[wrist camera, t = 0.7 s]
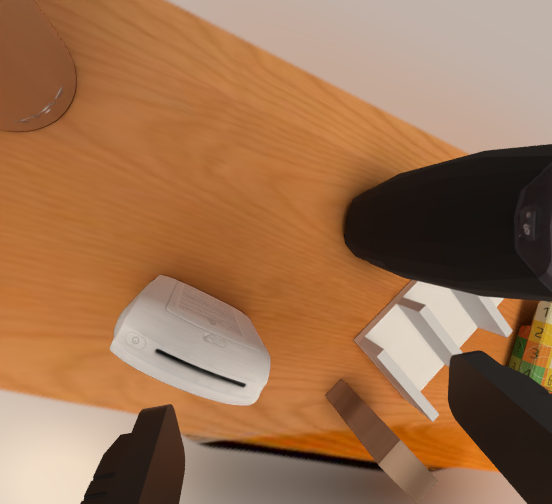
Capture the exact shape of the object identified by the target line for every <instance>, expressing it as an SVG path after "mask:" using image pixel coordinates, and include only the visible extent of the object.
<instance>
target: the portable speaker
mask: <svg viewBox="0 0 552 504" xmlns="http://www.w3.org/2000/svg"><path fill="white" fill-rule="evenodd" d="M344 237H345V244H346V245H347V246H348V247H349V249H350V250H351V251H352V252H353V254H354V255H355V256H357V257H359V258H361V259H364V260H366V261H368V262H369V263H370V264H373V265H375V266H377V267H380V268H382V269H385V270H387V271H389V272H392V273H394V274H396V275H399V276H401V277H403V278H407V279H411V280H415V281H420V282H424V283H428V284H432V285H436V286H441V287H445V288H449V289H453V290H457V291H461V292H466V293H470V294H474V295H478V296H482V297H496V298H510V299H524V300H538V301H552V144H549V145H539V146H529V147H518V148H508V149H499V150H489V151H483V152H479V153H475V154H471V155H467V156H464V157H460V158H456V159H453V160H449V161H445V162H441V163H438V164H434V165H430V166H427V167H423V168H419V169H415V170H412V171H408V172H404V173H401V174H398V175H396V176H394V177H392V178H391V179H389V180H387V181H385V182H383V183H381V184H379V185H378V186H376V187H374V188H372V189H369V190H367V191H366V192H364V193H362V194H361V195H359V196H357V197H356V198H354V199H353V202H352V205H351V208H350V211H349V214H348V218H347V221H346V232H345V235H344Z"/></svg>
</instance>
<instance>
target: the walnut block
mask: <svg viewBox="0 0 552 504" xmlns="http://www.w3.org/2000/svg"><path fill="white" fill-rule="evenodd" d="M325 396H326V397H327V399H328V400H329V401H330V403H331V404H332V405H333V406H334V408H335V409H336V410H337V412H338V413H339V414H340V416H341V417H342V418H343V419H344V421H345V422H346V423H347V425H348V426H349V427H350V429H351V430H352V431H353V432H354V434H355V435H356V436H357V438H358V439H359V440H360V442H361V443H362V444H363V445H364V447H365V448H366V449H367V451H368V452H369V453H370V455H371V456H372V457H373V458H374V460H375V461H376V462H377V464H378V465H379V466H380V467H381V468H382V469H383V470H384V471H385V472H386V473H387V474H388V475H389V476H390V477H391V478H392V479H393V480H394V481H395V482H396V483H397V484H398V485H399V487H401V489H402V490H403V491H404V492H405V493H406V494H408V496H409V497H410V498H411V499H412V500H413V501H414V502H415V503H416V504H418V503H419V502H420V501H421V500H422V499H423V497H424V496H425V495H426V494H427V493H428V491H429V490H430V489H431V488H432V487H433V486H434V484H435V483H436V482H437V479H436V478H435V477H434V476H433V475H432V474H431V473H430V471H429V470H428V469H427V468H426V467H425V466H424V465H423V464H422V463H421V462H420V461H419V459H418V458H417V457H416V456H415V455H414V454H413V453H412V452H411V451H410V450H409V449H408V448H407V446H406V445H405V444H404V443H403V442H402V441H401V440H400V439H399V438H398V437H397V436H396V435H395V434H394V433H393V432H392V431H391V429H390V428H389V427H388V426H387V425H386V424H385V423H384V422H383V421H382V420H381V419H380V418H379V417H378V416H377V415H376V414H375V413H374V412H373V411H372V410H371V409H370V408H369V407H368V406H367V405H366V404H365V403H364V401H363V400H362V399H361V398H360V397H359V396H358V395H357V394H356V393H355V392H354V391H353V390H352V389H351V388H350V387H349V386H348V385H347V384H346V383H345V382H344V381H343V380H342V379H340V380H339V381H338V383H337V384H336V385H335V386H334V387H333V388H332V389H331V390H330V391H329V392H328V393H327V394H326V395H325Z"/></svg>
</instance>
